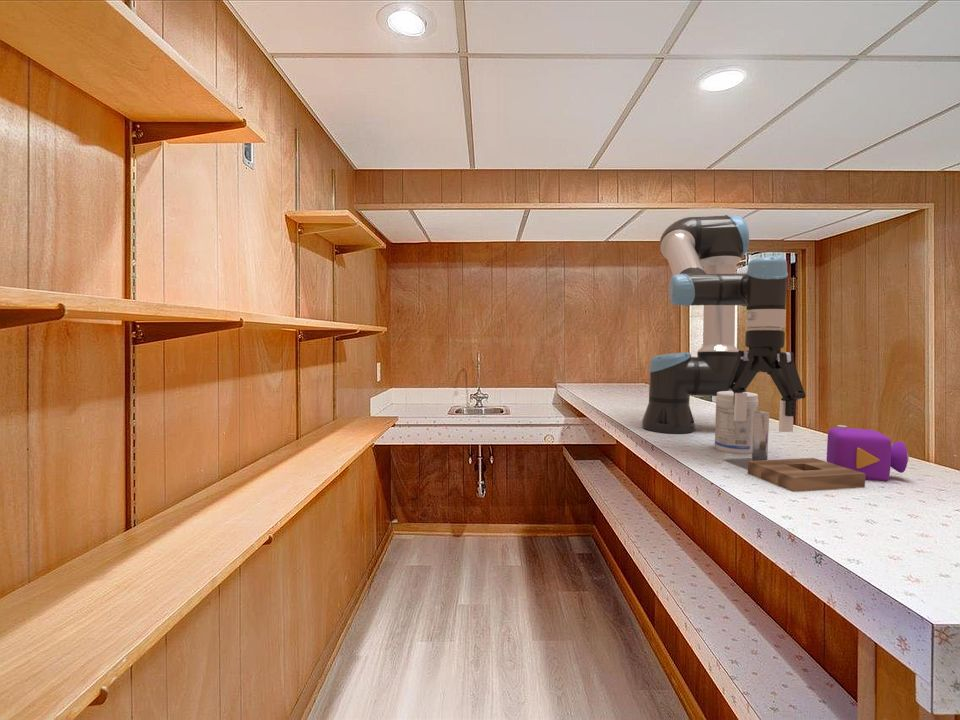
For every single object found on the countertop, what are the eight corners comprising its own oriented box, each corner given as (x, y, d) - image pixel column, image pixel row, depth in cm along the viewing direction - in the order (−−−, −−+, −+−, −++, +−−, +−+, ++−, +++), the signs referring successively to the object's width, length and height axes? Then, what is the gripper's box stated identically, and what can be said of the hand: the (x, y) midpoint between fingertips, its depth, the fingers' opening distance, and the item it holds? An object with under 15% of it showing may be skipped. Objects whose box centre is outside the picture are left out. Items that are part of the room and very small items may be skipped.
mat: (721, 461, 117) (721, 459, 117) (759, 459, 119) (759, 457, 119) (759, 476, 106) (759, 474, 106) (800, 473, 108) (800, 471, 108)
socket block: (747, 475, 106) (748, 461, 106) (812, 471, 109) (813, 457, 109) (793, 493, 94) (794, 477, 94) (864, 488, 98) (865, 473, 97)
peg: (748, 463, 114) (750, 411, 113) (760, 463, 114) (762, 410, 113) (758, 467, 111) (760, 413, 110) (770, 466, 111) (772, 412, 111)
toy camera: (919, 486, 100) (922, 436, 99) (841, 481, 102) (844, 432, 102) (887, 471, 110) (889, 425, 110) (817, 467, 113) (819, 423, 112)
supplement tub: (728, 445, 134) (730, 389, 133) (764, 452, 126) (767, 394, 125) (706, 449, 129) (708, 392, 128) (742, 457, 121) (744, 396, 120)
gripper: (712, 329, 122) (710, 417, 123) (796, 328, 98) (792, 437, 99) (740, 330, 124) (737, 416, 125) (829, 329, 99) (824, 436, 100)
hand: (761, 425), depth 112 cm, fingers open, 13 cm apart
